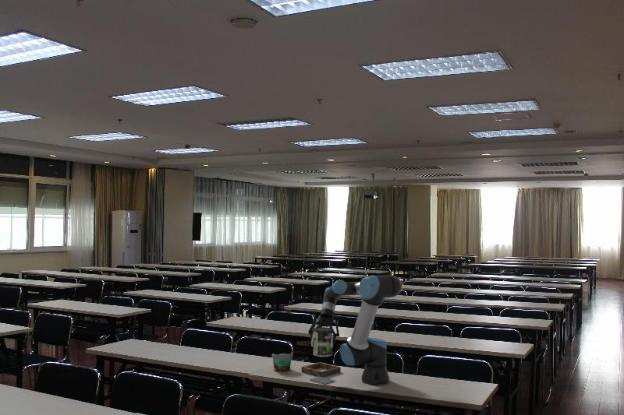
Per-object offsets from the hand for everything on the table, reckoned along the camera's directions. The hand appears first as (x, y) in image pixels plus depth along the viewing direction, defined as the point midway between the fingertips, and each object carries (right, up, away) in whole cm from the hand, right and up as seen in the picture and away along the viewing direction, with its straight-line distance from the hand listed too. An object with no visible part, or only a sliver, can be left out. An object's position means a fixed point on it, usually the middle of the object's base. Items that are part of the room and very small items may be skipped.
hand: (321, 345), depth 320 cm
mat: (+1, -20, +2) cm, 20 cm away
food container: (-22, -20, +22) cm, 37 cm away
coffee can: (+1, -6, +3) cm, 6 cm away
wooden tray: (0, -20, +20) cm, 28 cm away
